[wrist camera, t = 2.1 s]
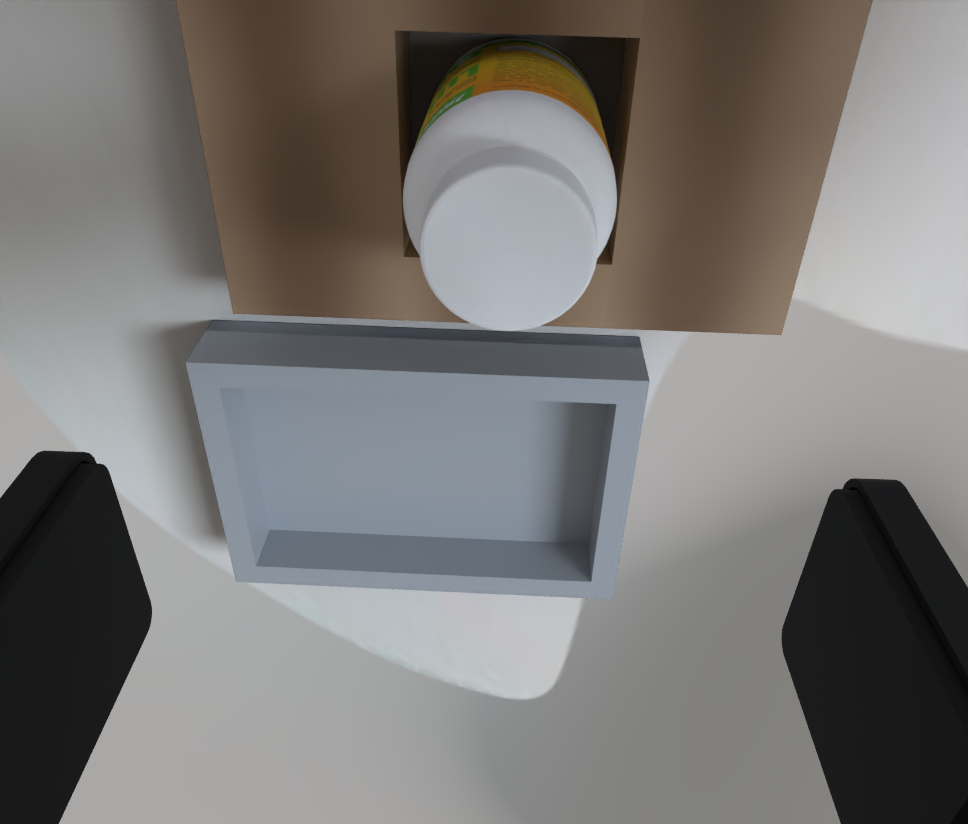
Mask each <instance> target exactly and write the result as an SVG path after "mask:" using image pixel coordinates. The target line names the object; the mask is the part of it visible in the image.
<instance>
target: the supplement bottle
mask: <svg viewBox="0 0 968 824" xmlns="http://www.w3.org/2000/svg"><path fill="white" fill-rule="evenodd" d="M616 208H617V188H616V180H615V173H614V167H613V162H612V159H611V156H610V151H609V148H608V145H607V141H606V137H605V134H604V130H603V127H602V123H601V118H600V114H599V110H598V106H597V103H596V99H595V97H594V94H593V91H592V89H591V87H590V85H589V83H588V81H587V79H586V78H585V76H584V75H583V73H582V72H581V71H580V69H579V68H578V67H577V66H576V65H575V64H574V63H573V62H572V61H571V60H570V59H569V58H568V57H566V56H565V55H564V54H563V53H561V52H560V51H558V50H556V49H555V48H553V47H551V46H549V45H547V44H544V43H541V42H538V41H534V40H530V39H522V38H507V39H499V40H495V41H491V42H487V43H485V44H482V45H480V46H478V47H476V48H474V49H472V50H471V51H469V52H467V53H466V54H464V55H463V56H462V57H461V58H460V59H458V60H457V61H456V62H455V63H454V64H453V65H452V66H451V67H450V69H449V70H448V71H447V72H446V74H445V75H444V77H443V78H442V80H441V82H440V83H439V85H438V87H437V89H436V91H435V93H434V96H433V98H432V101H431V103H430V106H429V109H428V112H427V114H426V117H425V120H424V122H423V125H422V127H421V130H420V133H419V136H418V139H417V142H416V144H415V147H414V150H413V152H412V155H411V158H410V161H409V163H408V168H407V173H406V177H405V182H404V188H403V209H404V217H405V221H406V226H407V229H408V233H409V235H410V238H411V240H412V243H413V245H414V247H415V249H416V250H417V252H418V254H419V255H420V262H421V266H422V270H423V273H424V276H425V278H426V280H427V282H428V285H429V286H430V288H431V290H432V291H433V293H434V294H435V296H436V297H437V298H438V299H439V300H440V302H441V303H442V304H443V305H444V306H445V307H446V308H448V309H449V310H450V311H451V312H452V313H454V314H455V315H457V316H458V317H460V318H461V319H463V320H465V321H468V322H470V323H472V324H474V325H477V326H479V327H483V328H487V329H491V330H498V331H519V330H525V329H531V328H535V327H538V326H541V325H544V324H546V323H548V322H550V321H552V320H554V319H556V318H558V317H559V316H561V315H562V314H564V313H565V312H566V311H567V310H568V309H570V308H571V307H572V306H573V305H574V304H575V303H576V302H577V300H578V299H579V298H580V297H581V296H582V294H583V293H584V291H585V290H586V288H587V286H588V285H589V283H590V281H591V278H592V276H593V273H594V270H595V267H596V262H597V258H598V257H599V256H600V254H601V253H602V251H603V249H604V247H605V246H606V243H607V241H608V239H609V236H610V234H611V231H612V228H613V224H614V220H615V216H616Z"/></svg>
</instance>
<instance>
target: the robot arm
mask: <svg viewBox="0 0 968 824" xmlns="http://www.w3.org/2000/svg"><path fill="white" fill-rule="evenodd" d="M151 617H152V606H151V601H150V598H149V595H148V592H147V589H146V586H145V583H144V579H143V576H142V573H141V570H140V567H139V564H138V561H137V558H136V554H135V552H134V548H133V545H132V542H131V539H130V536H129V533H128V530H127V526H126V523H125V520H124V517H123V514H122V511H121V508H120V505H119V501H118V499H117V495H116V492H115V489H114V486H113V483H112V479H111V476H110V473H109V471H108V469H107V467H106V466H105V465H103V464H97V463H96V461H95V459H94V457H93V456H92V455H91V454H90V453H86V452H64V451H41V452H39V453H37V454H36V455H35V456H34V457H33V458H32V459H31V460H30V461H29V462H28V464H27V465H26V466H25V468H24V469H23V470H22V471H21V473H20V474H19V475H18V476H17V478H16V479H15V480H14V482H13V483H12V484H11V485H10V487H9V488H8V489H7V490H6V492H5V493H4V494H3V495H2V497H1V498H0V824H59V822H60V820H61V817H62V815H63V813H64V811H65V809H66V807H67V805H68V802H69V800H70V798H71V796H72V794H73V792H74V790H75V787H76V785H77V783H78V781H79V779H80V777H81V775H82V772H83V770H84V768H85V766H86V764H87V762H88V760H89V757H90V755H91V753H92V751H93V749H94V747H95V745H96V742H97V740H98V738H99V736H100V734H101V732H102V729H103V727H104V725H105V723H106V721H107V719H108V717H109V715H110V712H111V710H112V708H113V706H114V703H115V702H116V699H117V697H118V695H119V693H120V691H121V688H122V687H123V684H124V682H125V680H126V678H127V676H128V674H129V671H130V669H131V667H132V665H133V663H134V661H135V659H136V656H137V654H138V652H139V650H140V648H141V646H142V644H143V642H144V639H145V637H146V635H147V633H148V630H149V627H150V624H151ZM782 648H783V653H784V657H785V660H786V663H787V666H788V668H789V672H790V674H791V677H792V680H793V683H794V686H795V689H796V692H797V695H798V698H799V701H800V704H801V707H802V710H803V713H804V716H805V719H806V722H807V725H808V728H809V730H810V733H811V737H812V739H813V742H814V745H815V748H816V751H817V754H818V757H819V760H820V763H821V766H822V769H823V772H824V775H825V778H826V781H827V784H828V787H829V790H830V793H831V796H832V799H833V801H834V804H835V807H836V810H837V813H838V816H839V819H840V822H841V824H968V587H967V586H966V584H965V582H964V581H963V579H962V578H961V576H960V574H959V573H958V571H957V570H956V568H955V566H954V565H953V563H952V561H951V560H950V558H949V556H948V555H947V553H946V552H945V550H944V548H943V547H942V545H941V544H940V542H939V541H938V539H937V537H936V535H935V534H934V532H933V531H932V530H931V527H930V526H929V524H928V523H927V521H926V520H925V518H924V516H923V514H922V513H921V512H920V510H919V508H918V506H917V505H916V503H915V502H914V500H913V498H912V497H911V495H910V493H909V492H908V490H907V489H906V487H905V486H904V485H903V484H902V483H901V482H899V481H897V480H883V479H881V480H880V479H850V480H849V481H847V482H846V483H845V485H844V487H843V489H836V490H833V491H832V492H831V494H830V496H829V498H828V501H827V504H826V506H825V509H824V512H823V515H822V518H821V521H820V524H819V526H818V529H817V532H816V535H815V537H814V540H813V543H812V546H811V549H810V552H809V555H808V557H807V560H806V563H805V566H804V568H803V571H802V574H801V577H800V580H799V583H798V585H797V588H796V591H795V594H794V597H793V600H792V602H791V605H790V608H789V611H788V614H787V616H786V619H785V622H784V625H783V629H782Z"/></svg>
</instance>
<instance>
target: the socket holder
mask: <svg viewBox="0 0 968 824" xmlns="http://www.w3.org/2000/svg"><path fill="white" fill-rule="evenodd" d="M176 4H177V9H178V15H179V20H180V26H181V31H182V36H183V42H184V47H185V53H186V58H187V64H188V69H189V75H190V80H191V86H192V91H193V97H194V102H195V107H196V113H197V118H198V124H199V129H200V135H201V140H202V146H203V151H204V157H205V162H206V168H207V173H208V179H209V184H210V189H211V195H212V200H213V206H214V211H215V217H216V222H217V228H218V233H219V239H220V244H221V250H222V255H223V260H224V266H225V271H226V277H227V282H228V288H229V293H230V299H231V304H232V310H233V314H258V315H283V316H309V317H334V318H360V319H385V320H411V321H436V322H462V323H470V322H468V321H465V320H463V319H461V318H460V317H458V316H457V315H455V314H454V313H452V312H451V311H450V310H449V309H448V308H446V307H445V306H444V305H443V304H442V303H441V302H440V300H439V299H438V298H437V297H436V296H435V294H434V293H433V291H432V290H431V288H430V286H429V285H428V282H427V280H426V278H425V276H424V273H423V270H422V266H421V262H420V255H419V254H418V252H417V250H416V249H415V247H414V245H413V243H412V240H411V238H410V235H409V233H408V229H407V226H406V221H405V217H404V209H403V188H404V182H405V177H406V173H407V168H408V163H409V161H410V158H411V155H412V152H413V149H412V117H411V85H410V54H409V31H426V32H459V33H491V34H523V35H556V36H588V37H621V38H626V43H625V52H624V61H623V69H622V78H621V87H620V96H619V104H618V113H617V122H616V131H615V139H614V148H613V157H612V162H613V167H614V173H615V180H616V188H617V208H616V216H615V220H614V224H613V228H612V231H611V234H610V236H609V239H608V241H607V243H606V246H605V247H604V249H603V251H602V253H601V254H600V256H599V257H598V258H597V262H596V267H595V270H594V273H593V276H592V278H591V281H590V283H589V285H588V286H587V288H586V290H585V291H584V293H583V294H582V296H581V297H580V298H579V299H578V300H577V302H576V303H575V304H574V305H573V306H572V307H571V308H570V309H568V310H567V311H566V312H565V313H564V314H562V315H561V316H559V317H558V318H556V319H554V320H552V321H550V322H548V323H546V324H544V325H541V326H563V327H589V328H614V329H640V330H665V331H691V332H717V333H743V334H767V335H768V334H769V335H781V334H782V331H783V327H784V323H785V320H786V316H787V312H788V309H789V305H790V301H791V298H792V294H793V290H794V287H795V283H796V279H797V276H798V272H799V268H800V265H801V261H802V257H803V254H804V250H805V246H806V243H807V239H808V235H809V232H810V228H811V224H812V221H813V217H814V213H815V210H816V206H817V202H818V199H819V195H820V191H821V188H822V184H823V180H824V177H825V173H826V169H827V166H828V162H829V158H830V155H831V151H832V147H833V144H834V140H835V136H836V133H837V129H838V125H839V122H840V118H841V114H842V111H843V107H844V103H845V100H846V96H847V92H848V89H849V85H850V81H851V78H852V74H853V70H854V67H855V63H856V59H857V56H858V52H859V48H860V45H861V41H862V37H863V34H864V30H865V26H866V22H867V19H868V15H869V11H870V8H871V4H872V0H176Z"/></svg>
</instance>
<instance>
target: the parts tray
mask: <svg viewBox="0 0 968 824" xmlns="http://www.w3.org/2000/svg"><path fill="white" fill-rule="evenodd" d="M185 364H186V368H187V372H188V376H189V381H190V385H191V389H192V394H193V398H194V402H195V407H196V411H197V415H198V420H199V424H200V428H201V433H202V437H203V441H204V446H205V450H206V454H207V458H208V463H209V467H210V471H211V476H212V480H213V484H214V489H215V493H216V497H217V502H218V506H219V510H220V515H221V519H222V523H223V527H224V532H225V536H226V540H227V545H228V549H229V553H230V558H231V562H232V566H233V571H234V575H235V579H236V582H254V583H275V584H297V585H318V586H339V587H360V588H382V589H403V590H424V591H445V592H466V593H488V594H509V595H530V596H551V597H573V598H594V599H613V594H614V588H615V582H616V577H617V570H618V565H619V559H620V553H621V547H622V541H623V535H624V529H625V523H626V517H627V511H628V505H629V499H630V493H631V488H632V482H633V475H634V470H635V464H636V458H637V452H638V446H639V440H640V434H641V428H642V422H643V416H644V410H645V404H646V399H647V393H648V387H649V377H648V373H647V369H646V364H645V360H644V355H643V351H642V347H641V342H640V338H639V337H627V336H602V335H577V334H551V333H526V332H501V331H475V330H450V329H425V328H400V327H374V326H349V325H324V324H298V323H273V322H248V321H222V320H213V321H212V322H211V324H210V325H209V327H208V328H207V330H206V331H205V333H204V334H203V336H202V338H201V339H200V341H199V342H198V344H197V345H196V347H195V348H194V350H193V351H192V353H191V354H190V356H189V357H188V359H187V360H186V362H185Z"/></svg>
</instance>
